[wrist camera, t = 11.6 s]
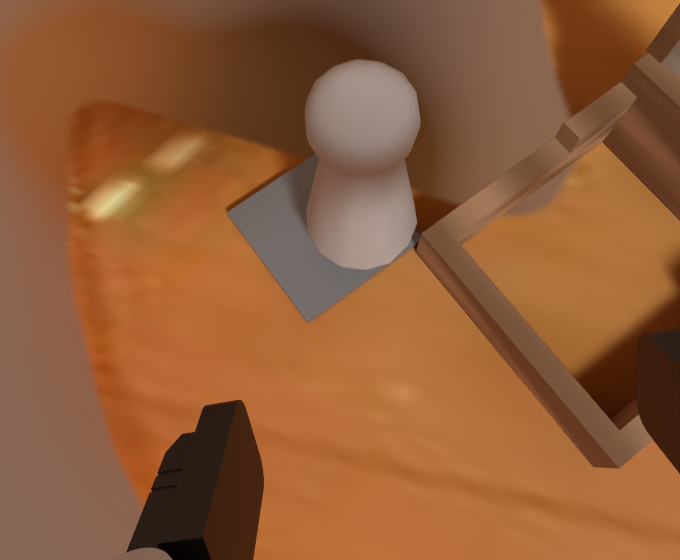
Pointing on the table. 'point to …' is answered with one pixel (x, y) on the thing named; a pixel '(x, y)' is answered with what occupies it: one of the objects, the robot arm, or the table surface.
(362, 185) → the salt shaker
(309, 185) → the plate
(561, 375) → the frame
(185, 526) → the robot arm
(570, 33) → the table surface
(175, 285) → the table surface
